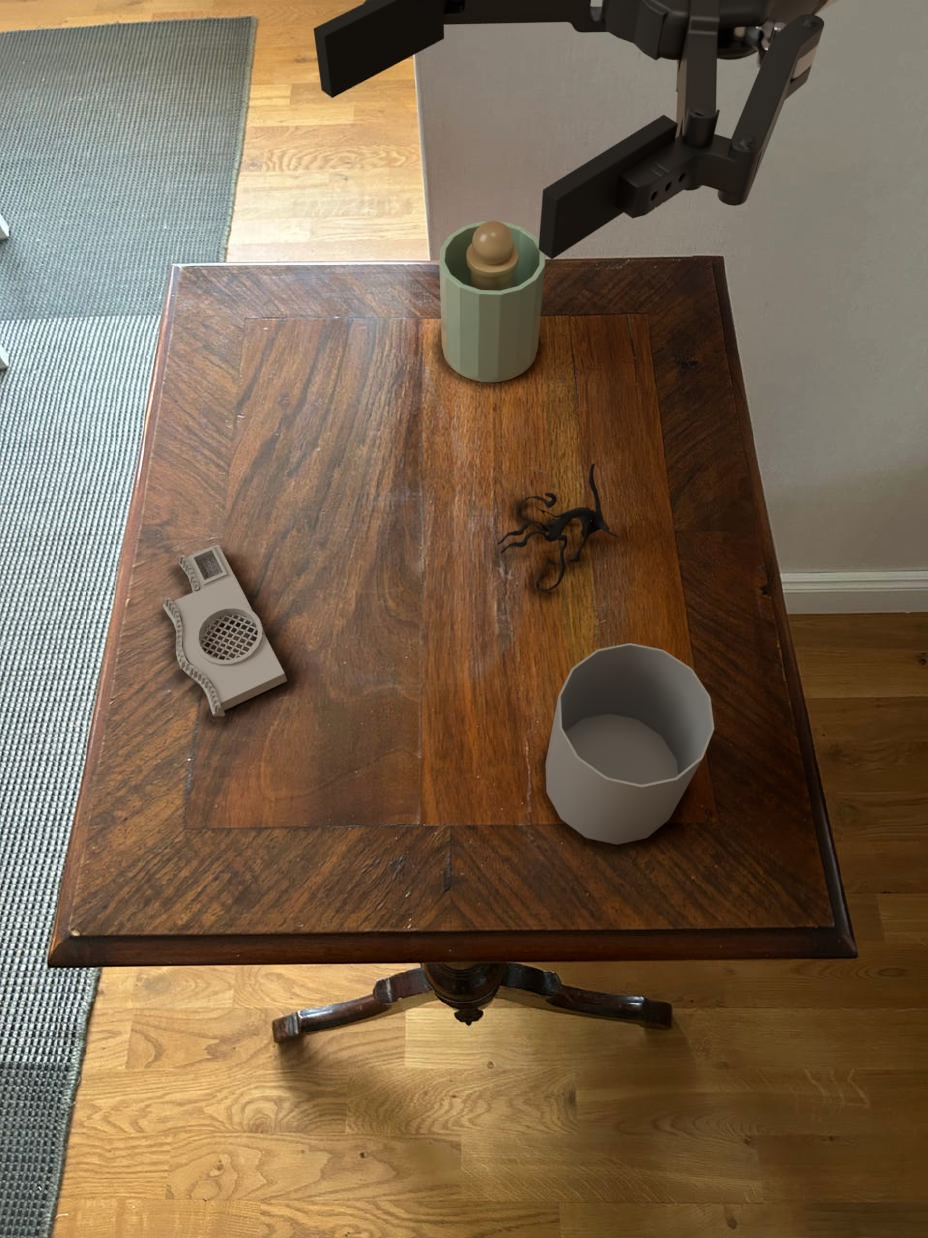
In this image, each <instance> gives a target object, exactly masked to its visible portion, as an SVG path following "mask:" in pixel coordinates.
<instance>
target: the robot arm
mask: <svg viewBox="0 0 928 1238" xmlns="http://www.w3.org/2000/svg"><path fill="white" fill-rule="evenodd" d="M839 1H840V0H602V1H601V6H593V5H592V0H364V1H363V3H362V4H360V5H358V6H356V7H354V8H352V9H349V10H348V11H346V12H344V13H342V14H340V15H337V16H336V17H333V18H332V19H330V20H327V21H326V22H324V23H322V24H320V25H318V26H316V27H313V35H314V41H315V42H314V45H315V50H316V59H317V66H318V75H319V81H320V90H321V91H322V92H323V93H324V94H326V95H327V96H329V97H330V98H331V99H333V98H336V97H337V96H339V95H341V94H343V93H345V92H346V91H348V90H350V89H353V88H355V87H356V86H358V85H360V84H362V83H363V82H366V81H367V80H369V79H371V78H373V77H375V76H376V75H379V74H381V73H382V72H384V71H386V70H388V69H390V68H392V67H394V66H396V65H397V64H399V63H401V62H403V61H406V59H409V58H411V57H413V56H414V55H416V54H418V53H420V52H422V51H424V50H426V49H427V48H429V47H432V46H433V45H435V44H438V43H439V42H441V41H443V40H445V26H452V25H493V24H495V25H497V24H501V25H502V24H539V23H540V24H541V23H544V24H546V23H569V24H570V25H571V26H572V28H573V30H574V31H575V32H577V33H582V34H583V33H585V34H586V33H609V34H611V35H613V36H614V37H616V38H617V39H620V40H623V41H626V42H629V43H631V44H633V45H635V47H636V48H638V49H639V50H640V51H641V52H642V54H644V55H645V56H647V57H648V58H651V59H652V60H654V61H658V60H660V59H665V60H669V61H676V64H677V65H676V87H675V92H676V93H677V95H676V96H677V97H676V113H675V114H676V115H675V116H676V117H675V119H676V120H673V119H671V118H670V117H668V116H667V115H666V114H662V115H660V116H659V117H658V118H655V119H654V120H652V121H651V122H649V123H648V124H646V125H645V126H643V127H641V128H639V129H638V130H636V131H635V132H633V133H631V134H630V135H628V136H627V137H625V138H624V139H622V140H620V141H619V142H617V143H616V144H614V145H613V146H610V147H609V148H607V149H606V150H604V151H602V152H601V153H600V154H598V155H596V156H594V157H593V158H591V159H590V160H588V161H586V162H585V163H583V164H581V165H580V166H579V167H577V168H575V169H574V170H572V171H570V172H569V173H568V174H565V175H564V176H562V177H561V178H559V179H558V180H556V181H554V182H553V183H551V184H550V185H548V186H546V187H545V188H543V189H542V197H541V212H540V224H539V238H538V240H539V249H538V250H540V251H541V252H542V253H544V254H545V256H546V257H548V258H549V259H551V260H554V259H555V258H557V257H558V256H559V255H561V254H563V253H564V252H566V251H567V250H570V249H571V248H572V247H573V246H575V245H577V244H579V242H581V241H582V240H584V239H586V238H587V237H589V236H591V234H593V233H594V232H596V231H598V230H600V229H601V228H602V227H603V226H606V225H607V224H608V223H610V222H612V221H613V220H615V219H617V218H618V217H619V216H621V215H622V214H623V213H624V214H625V215H627V216H628V217H630V218H631V219H636V218H640V217H645V216H646V215H648V214H649V213H651V212H652V211H654V210H655V209H657V208H658V207H660V206H661V205H662V204H665V203H666V202H668V201H669V200H671V199H672V198H673V197H675V196H677V195H678V194H680V193H681V192H683V191H688V192H689V191H696V190H699V189H700V188H701V187H703V186H704V187H708V188H711V189H714V190H717V198H718V200H719V201H720V202H722V203H723V204H724V205H727V206H733V207H735V206H741V205H743V204H745V203H746V201H748V198H749V196H750V193H751V190H752V188H753V184H754V183H755V180H756V177H757V175H758V172H759V169H760V167H761V164H762V162H763V159H764V156H765V154H766V151H767V148H768V146H769V143H770V141H771V138H772V135H773V132H774V130H775V127H776V124H777V121H778V120H779V116H780V114H781V111H782V110H783V107H784V103H785V101H786V100H787V99H789V97H791V96H792V95H793V94H794V93H796V92H797V91H798V90H799V89H801V87H802V86H803V85H805V84H806V83H807V81H808V80H809V77H810V73H811V70H812V66H813V63H814V60H815V56H816V54H817V51H818V47H819V43H820V41H821V37H822V34H823V31H824V28H825V21H824V19H823V18H822V17H820V16H818V14H819V13H821V12H822V11H824V10H826V9H828V8H829V7H831V6H832V5H834V4H835V3H837V2H839ZM756 53H757V57H756V62H755V63H756V67H758V68H759V69H758V72H757V75H756V77H755V79H754V82H753V84H752V87H751V90H750V92H749V94H748V97H747V99H746V101H745V104H744V106H743V108H742V110H741V111H742V112H741V114H740V116H739V119H738V121H737V123H736V126H735V129H734V131H733V134H732V136H731V138H729V137H726V136H723V135H719V134H717V133H716V128H717V125H718V121H719V117H720V112H721V109H717V85H718V84H717V83H718V81H717V80H718V79H717V78H718V60H722V61H735V60H741V59H745V58H748V57H751V56H753V55H755V54H756Z"/></svg>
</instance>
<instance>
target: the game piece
mask: <svg viewBox="0 0 928 1238" xmlns="http://www.w3.org/2000/svg"><path fill="white" fill-rule="evenodd" d="M487 221H488V222H485V223H483V224H482V225H480V226H479V227H478V228H477V230H476V231H475V233H474V235H473V239H472V243H471V244H470V246H469V247H468V249H467V253H466V260H467V264H468V266H469V268H470V269H471V275H470V287H473V288H476V289H479V290H494V291H501V290H505V289H509V288H513V280H514V270H515V268H516V267H517V265H518V262H519V252H518V249H517V247H516V245H515V244H514V238H513V235H512V232H511V231H510V229H509V228H508V227H507V226H506V225H505V224H503V223H501V222H502V221H500V222H498V220H487Z"/></svg>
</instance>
